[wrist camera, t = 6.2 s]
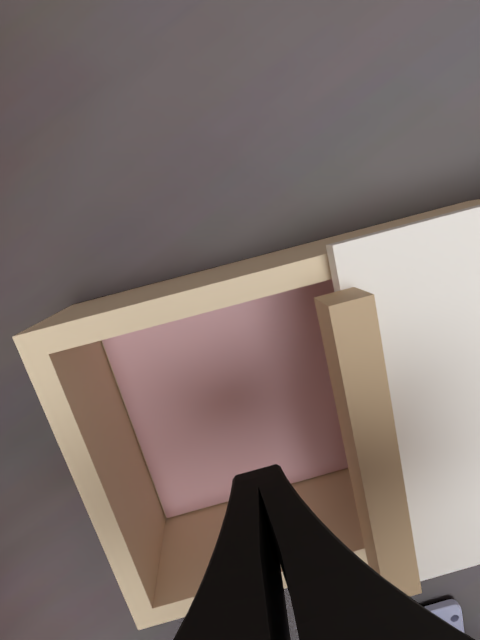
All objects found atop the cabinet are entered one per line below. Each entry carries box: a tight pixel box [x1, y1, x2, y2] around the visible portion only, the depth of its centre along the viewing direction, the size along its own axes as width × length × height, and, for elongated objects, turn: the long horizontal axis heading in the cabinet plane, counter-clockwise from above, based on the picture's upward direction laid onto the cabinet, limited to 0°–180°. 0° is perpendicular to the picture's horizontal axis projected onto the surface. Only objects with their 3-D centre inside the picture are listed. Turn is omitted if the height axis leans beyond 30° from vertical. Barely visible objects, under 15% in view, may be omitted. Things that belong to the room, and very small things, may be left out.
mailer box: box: [12, 199, 480, 630], centre depth 15 cm, size 12×18×5 cm, turn 104°
